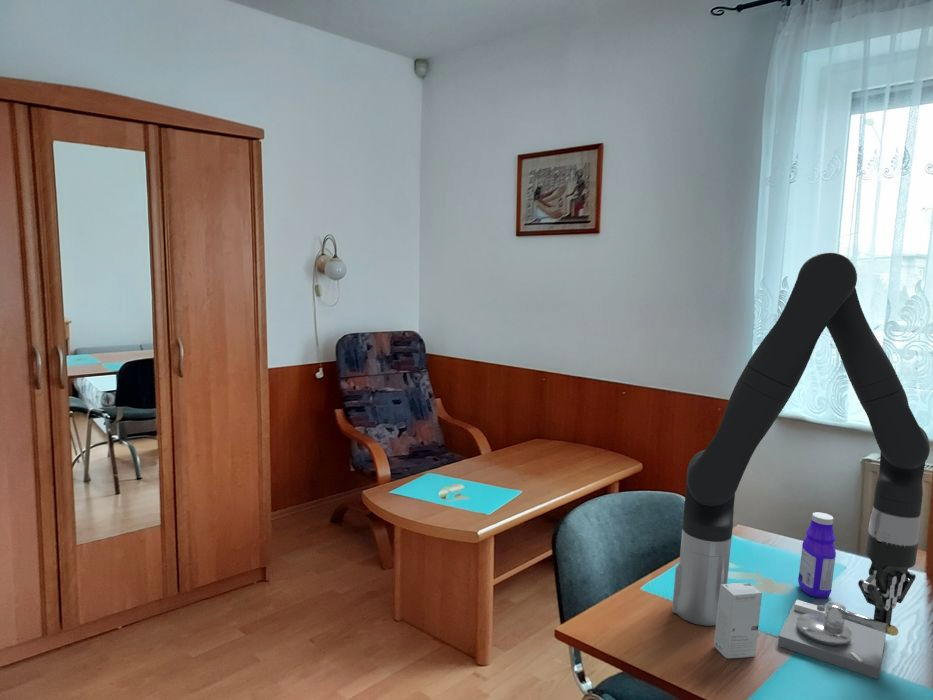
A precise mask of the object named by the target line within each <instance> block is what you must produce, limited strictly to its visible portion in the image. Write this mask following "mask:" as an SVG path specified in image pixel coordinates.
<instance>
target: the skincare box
mask: <svg viewBox="0 0 933 700" xmlns="http://www.w3.org/2000/svg"><path fill="white" fill-rule="evenodd" d="M762 596H763V593H762V592H761V590H759V589H757V588H756V587H755V586H753V585H752V584H750V583H749V582H739V583H738V582H731V583H727V584H721V585H720V591H719V601H718V611H717V620H716V625H715V632H714V641H713V642H714V643H713V647H715V649H716V650H717V651H718V652H719V653H720V654H721V655H722V656H723V657H724V658H725V659H739V658H741V659H743V658H752V657H756V655H757V654H756V653H757V645H758V644H757V643H758V636H759V627H760V626H759V623H760V618H761V616H760V614H761V607H762V606H761V605H762V598H763V597H762Z"/></svg>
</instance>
